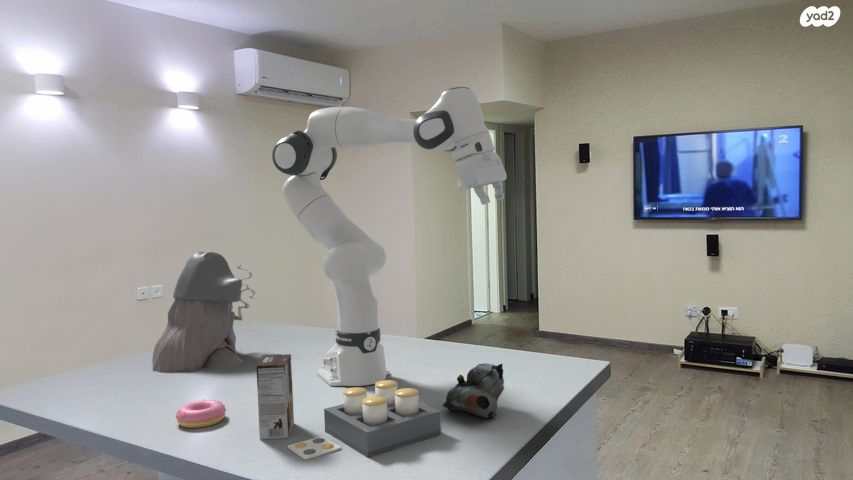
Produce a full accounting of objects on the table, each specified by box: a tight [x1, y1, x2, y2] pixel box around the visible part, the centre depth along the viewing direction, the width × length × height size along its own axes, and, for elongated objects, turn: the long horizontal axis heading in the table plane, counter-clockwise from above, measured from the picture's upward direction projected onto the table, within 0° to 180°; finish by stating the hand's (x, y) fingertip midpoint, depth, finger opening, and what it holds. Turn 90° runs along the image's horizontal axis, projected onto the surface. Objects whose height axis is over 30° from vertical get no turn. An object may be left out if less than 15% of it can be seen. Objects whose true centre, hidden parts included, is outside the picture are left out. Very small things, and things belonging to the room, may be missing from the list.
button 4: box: [395, 387, 420, 418], centre depth 131 cm, size 5×5×5 cm
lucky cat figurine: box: [442, 362, 505, 421], centre depth 142 cm, size 15×12×14 cm
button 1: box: [342, 386, 368, 416], centre depth 132 cm, size 5×5×5 cm
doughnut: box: [175, 399, 227, 429], centre depth 142 cm, size 11×11×4 cm
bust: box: [151, 251, 256, 373], centre depth 200 cm, size 34×34×35 cm
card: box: [287, 435, 342, 461], centre depth 125 cm, size 8×8×1 cm
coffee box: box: [255, 353, 295, 441], centre depth 134 cm, size 9×6×16 cm
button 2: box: [362, 395, 388, 427], centre depth 126 cm, size 5×5×5 cm
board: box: [323, 402, 442, 458], centre depth 132 cm, size 18×18×5 cm
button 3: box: [374, 379, 399, 407], centre depth 137 cm, size 5×5×5 cm
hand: (493, 201), depth 153 cm, fingers open, 8 cm apart
